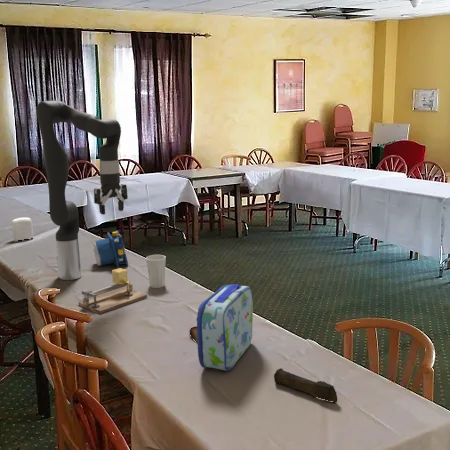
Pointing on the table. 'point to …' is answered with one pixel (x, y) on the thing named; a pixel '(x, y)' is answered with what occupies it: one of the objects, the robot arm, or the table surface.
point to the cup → (156, 270)
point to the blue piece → (110, 250)
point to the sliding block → (120, 277)
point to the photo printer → (22, 228)
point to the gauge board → (110, 298)
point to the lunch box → (224, 326)
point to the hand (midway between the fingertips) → (111, 212)
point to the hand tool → (306, 385)
